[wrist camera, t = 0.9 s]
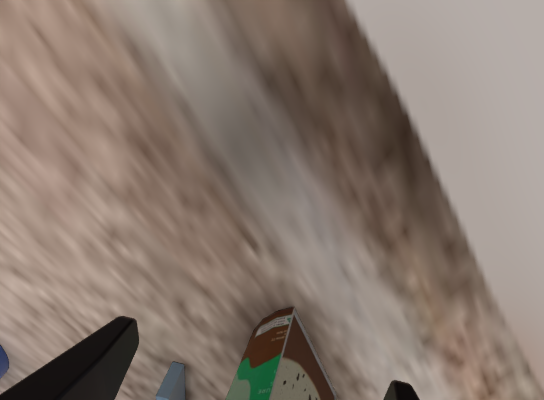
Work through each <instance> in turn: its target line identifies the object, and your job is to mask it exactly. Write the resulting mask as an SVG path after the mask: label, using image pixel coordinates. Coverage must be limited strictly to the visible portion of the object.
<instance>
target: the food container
mask: <svg viewBox="0 0 544 400" xmlns="http://www.w3.org/2000/svg"><path fill="white" fill-rule="evenodd" d="M226 400H337V394H336V392H335V390H334V388H333V386H332V384H331V382H330V380H329V377H328V375H327V373H326V371H325V369H324V367H323V365H322V363H321V361H320V359H319V357H318V355H317V353H316V351H315V349H314V347H313V345H312V343H311V340H310V338H309V336H308V334H307V332H306V330H305V328H304V326H303V324H302V322H301V320H300V318H299V316H298V314H297V312H296V310H295V308H294V307H291V308H287V309H282V310H279V311H277V312H275V313H273V314H271V315H270V316H268V317H266V318H264V319H263V320H262V321H261V322H260V324H259V325H258V326H257V327H256V328H255V330H254V331H253V333H252V336H251V338H250V341H249V343H248V346H247V348H246V351H245V353H244V356H243V358H242V360H241V363H240V365H239V368H238V370H237V373H236V375H235V378H234V380H233V383H232V385H231V387H230V390H229V392H228V395H227V397H226Z"/></svg>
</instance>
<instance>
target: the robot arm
mask: <svg viewBox="0 0 544 400" xmlns="http://www.w3.org/2000/svg"><path fill="white" fill-rule="evenodd" d="M138 344H139V335H138V327H137V321H136V320H135V319H134V318H130V317H126V316H119V317H117V318H115V319H114V320H112V321H111V322H109V323H108V324H106V325H105V326H103V327H102V328H100V329H99V330H97V331H96V332H94V333H93V334H91V335H90V336H88V337H87V338H85V339H84V340H82V341H81V342H79V343H78V344H76V345H75V346H73V347H72V348H70V349H68V350H67V351H65V352H64V353H62V354H61V355H59V356H58V357H56V358H55V359H53V360H52V361H50V362H49V363H47V364H46V365H44V366H43V367H41V368H40V369H38V370H37V371H35V372H34V373H32V374H31V375H29V376H28V377H26V378H25V379H23V380H21V381H20V382H18V383H17V384H15V385H14V386H12V387H11V388H9V389H8V390H6V391H5V392H3V393H2V394H0V400H114V399H115V397H116V395H117V393H118V391H119V388H120V386H121V384H122V382H123V379H124V377H125V375H126V373H127V370H128V368H129V366H130V364H131V362H132V359H133V357H134V355H135V353H136V350H137V348H138ZM384 400H420V399H419V398H418V396H417V394H416V392H415V391H414V389H413V387H412V386H411V385H410V384H408V383H405V382H401V381H397V380H393V381H392V382H391V383H390V386H389V388H388V390H387V393H386V395H385V397H384Z"/></svg>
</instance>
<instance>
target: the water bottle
mask: <svg viewBox="0 0 544 400" xmlns="http://www.w3.org/2000/svg"><path fill="white" fill-rule="evenodd" d="M8 368H9V361H8V357H7V355H6V353H5V351H4V350H3V348H2V347H1V346H0V378H1V377H2V376H3V375H4V374H5V373H6V372H7V370H8Z"/></svg>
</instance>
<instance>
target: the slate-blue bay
mask: <svg viewBox="0 0 544 400" xmlns="http://www.w3.org/2000/svg"><path fill="white" fill-rule="evenodd" d="M156 400H185V372H184V364H180V363H176V362H172V364H171V366H170V368H169V370H168V372H167V374H166V376H165V378H164V380H163V382H162V385H161V387H160V389H159V391H158V393H157V395H156Z"/></svg>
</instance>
